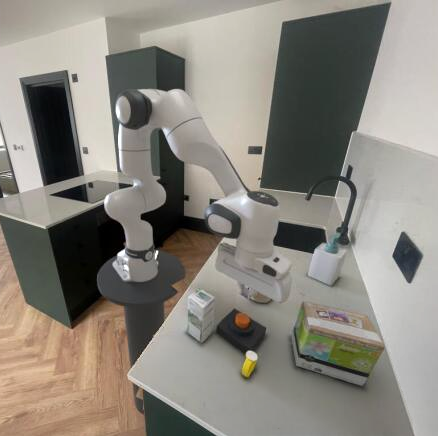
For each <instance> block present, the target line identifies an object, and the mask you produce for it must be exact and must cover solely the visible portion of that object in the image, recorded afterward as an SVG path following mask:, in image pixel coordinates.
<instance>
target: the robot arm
mask: <svg viewBox="0 0 438 436" xmlns="http://www.w3.org/2000/svg"><path fill="white" fill-rule="evenodd" d="M114 111H115V112H114V113H115V116H116V118H117V121H118V123H119V126H118V127H119V128H118V155H119V156H118V159H119V169H120V171H121V173H123V175H124V176H126V177H128V178H130V179H132V181H133V185H132V186H129V187H124V188H120V189H116V190H115V191H113V192H110V193H107V194H106V196H105V198H104V205H103V206H104V211H105V212H106V214H107V215H108V216H109V218H111V219H112V220H115V221H117V222H118V223H120V225H121V226H122V228H123V230H124V235H125V242H123V246H125V247H124V249H122V250H121V251H119V252H118V253H117V254H116V256H117V260H115V261H114V262H113V267H114V268H115V270H116V271H117V272H118V274H119V275H120V277H121V278H122V279H123V281H124V282H130V281H134V282H145V281H148V280H151V279H153V278H154V277H155V276H156V275H157V273H158V268H157V267H158V261H157V260H156V256H157V252H158V251H157V252H156V253H155V250H156V249H155V248H156V247H155V243H154V238H153V237H154V236H153V233H154V231H153V226H152V225H151V224H150V223H149V222H148V221H146V220H143V219H141V217H142V216H141V215H143V214H145V213H148V212H151V211H154V210H156V209H159V208H160V207H162V206H163V205H164V204H165V203H166V200H167V192H166V190H165V188H164V187H163V185H162V184H160V183H159V182H158V181H157V180H156V178H155V176H154V174H153V170H152V155H151V153H152V152H151V135H152V133H153V131H154V130H157V131H161V130H162V132H163V134H164V136H165V139H166V141H167V143H168V145H169V148H170V150H171V151H172V153H173V154H174V155H175V157H176V158H177V159H178V160H179V161H181V162H183V163H186V164H189V165H194V166H198V167H201V168H204V169H206V170H207V171H208V172H209V173H210V174H211V175H212V176H213V177H214V179H215V181H216V183H217V184H218V186H219V188H220V189H221V191H222V192H223V194H224V197H223V198H220V199H218V200H216V201H214V202H212V203H211V204H209V205H208V206H207V207H206V209H205V211H204V223H205V225H206V228H207V229H208V230H209V231H210V233H212V234H213V235H215V236H217V237H221V238H226V239H231V240H236V243H235V246H234V245H231V244H229V243H228V242H220V243H219V244H218V245H217V255H216V258H215V262H214V268H215V269H216V271H217V272H219V273H221V274H223V275H225V276H227V277H229V278H230V279H232V280H234V281H236V283H237V286H238V288H239V290H240V291H239V295H241V296H242V297H244V298H246V299H247V300H252V299H251V298H252V295H253V293H254V292H255V291H257V292H259V293H261V294H263V295H265V296H267V297H269V298H270V299H271V300H273V301H274V302H276V303H278V304H283V303H286V301H288V299H289V298H290V294H291V290H292V281H293V279H292V275H291V273H290V270H291V268H292V266H293V263H292V262H291V261H290V260H289V259H288V258H286V257H285V256H283V255H282V254H281V253H279V252H278V251H277V250H276V249H274V248H275V247H274V245H275V244H274V238H275V236H276V235H277V232H278V228H279V221H280V203H279V201H278V200H277V198H276V197H274V196H273V195H272V194H269V193H267V192H265V191H259V190H250V189H249V188H248V187H247V186H246V184H245V183H244V181H243V180H242V178H241V176H240V174H239V173H238V171H237V170H236V168H235V167H234V165H233V163H232V161H231V159H230V158H229V157H228V155H227V154H226V152H225V150H224V149H223V148H222V147H221V145H220V144H219V143H218V142H217V141H216V139H215V138H214V136H213V135H212V132H211V131H210V130H209V128H208V126H207V125H206V122H205V120H204V118H203V116H202V115H201V112H200V111H199V109H198V108H197V105H196V104H195V102H194V101H193V100H192V98H191V97H190V96H189V95H188V93H187V92H186V91H184V90H183V89H181V88H174V89H170V90H161V89H156V88H142V89H136V88H129V89H125V90H123V91H120V92H119V94H118V95H117V97H116V100H115V104H114ZM247 287H250V290H251V291H250V290H248V289H247Z"/></svg>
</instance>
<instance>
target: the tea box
mask: <svg viewBox="0 0 438 436" xmlns="http://www.w3.org/2000/svg"><path fill="white" fill-rule="evenodd" d="M291 332H292V333H291V335H290V338H291V343H292V349H293V356H294V362H295V366H296V367H299V368H303V369H306V370H309V371H312V372H316V373H319V374H321V375H322V374H323V375H325V376H329V377H331V378H334V379H338V380H342V381H344V382H348V383H351V384H354V385H357V386H360V387H363V386H364V385H365V383H366V381H367V380H368V379H369V377H370V375H371V373H372V371H373V369H374V368H375V366H376V364H377V363H378V361H379V359H380V357H381V355H382V354H383V352H384V350H385V349H386V346H385V344H384V343H383V341H382V339H381V337H380V335H379V333H378V332H377V330H376V328H375V326H374V324H373V323H372V321H371V318H370V316H369V315H368V314H364V313H358V312H354V311H351V310H345V309H340V308H336V307H333V306H332V307H331V306H327V305H323V304H318V303H314V302H309V301H304V300H303V301H302V302H301V305H300V308H299V311H298V314H297V317H296V319H295V323H294V327H293V329H292V331H291Z"/></svg>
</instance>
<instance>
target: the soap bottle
mask: <svg viewBox="0 0 438 436" xmlns="http://www.w3.org/2000/svg"><path fill="white" fill-rule="evenodd" d="M340 236H341V232H336V233H334V234H333V235H332V236H331V241H330V242H328V243H326V242H322V243H321V244H319V245H318V246H316V248H315V249H314V251H313V255H312V258H311V262H310V265H309V270H308V272H307V277H310V278H313V279H315V280H317V281H319V282H322V283H323V284H326V285H328V286H330V287H331V286H332V285H333V284H334V283H335V282H336V281H337V279H338V278H339V277H340V274H341V272H342V269H343V265H344V262H345V260H346V257H347V254H348V250H347V249H344V248H343V247H342V248H341V247H338V243H337V242H338V239H339V238H340Z"/></svg>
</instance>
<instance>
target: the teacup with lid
mask: <svg viewBox="0 0 438 436" xmlns="http://www.w3.org/2000/svg"><path fill="white" fill-rule="evenodd" d="M246 289H248V290H250V287H248V286H246ZM250 291H251V290H250ZM250 300H253V302H256V303H261V304H264V303H265V304H266V303H268V302H270V301H271V300H272V299H270V298H269V297H267V296H265V295H263V294H261V293H259V292H257V291H255V292H254V293H253V295H252V298H251V299H250Z"/></svg>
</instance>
